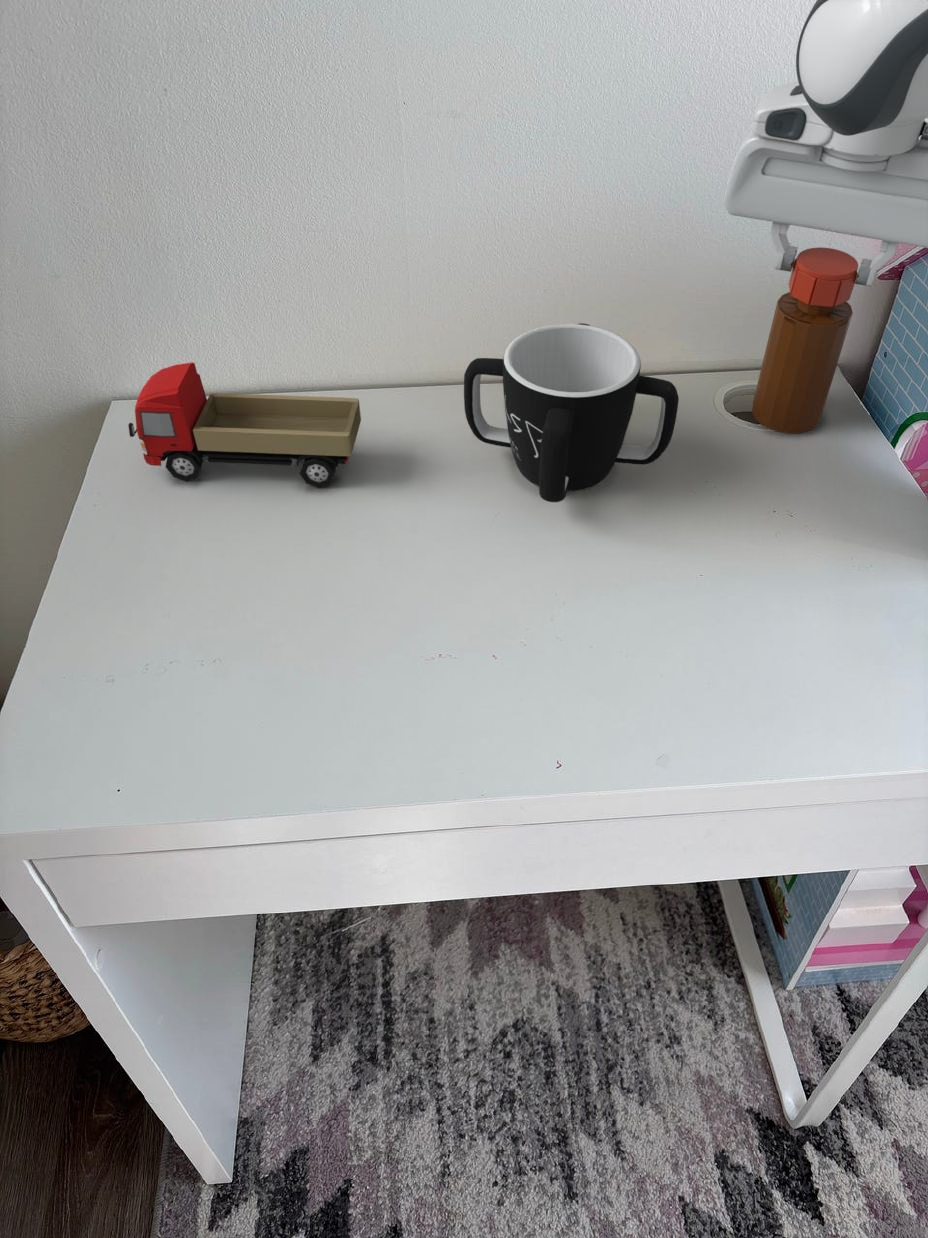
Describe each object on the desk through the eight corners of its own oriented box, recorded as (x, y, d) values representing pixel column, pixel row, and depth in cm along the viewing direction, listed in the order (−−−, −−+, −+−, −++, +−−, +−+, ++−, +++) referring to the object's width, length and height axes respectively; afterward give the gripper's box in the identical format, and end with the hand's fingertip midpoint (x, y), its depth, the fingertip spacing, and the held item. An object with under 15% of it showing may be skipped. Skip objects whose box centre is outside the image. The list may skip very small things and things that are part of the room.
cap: (860, 294, 89) (871, 264, 87) (822, 312, 87) (831, 281, 85) (815, 272, 92) (823, 241, 90) (776, 288, 90) (784, 257, 88)
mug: (453, 442, 97) (451, 334, 88) (592, 402, 101) (602, 296, 93) (529, 540, 86) (535, 428, 78) (679, 490, 91) (700, 380, 82)
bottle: (833, 417, 99) (880, 269, 87) (788, 441, 96) (831, 291, 85) (782, 388, 103) (820, 242, 91) (738, 410, 100) (771, 262, 88)
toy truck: (163, 442, 97) (138, 354, 90) (364, 450, 96) (355, 361, 89) (142, 484, 93) (114, 395, 85) (354, 493, 91) (343, 403, 84)
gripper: (1006, 119, 78) (946, 281, 88) (752, 86, 83) (723, 241, 93) (1001, 147, 74) (939, 313, 84) (735, 110, 79) (707, 270, 90)
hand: (823, 275), depth 89 cm, fingers closed on cap, 6 cm apart
